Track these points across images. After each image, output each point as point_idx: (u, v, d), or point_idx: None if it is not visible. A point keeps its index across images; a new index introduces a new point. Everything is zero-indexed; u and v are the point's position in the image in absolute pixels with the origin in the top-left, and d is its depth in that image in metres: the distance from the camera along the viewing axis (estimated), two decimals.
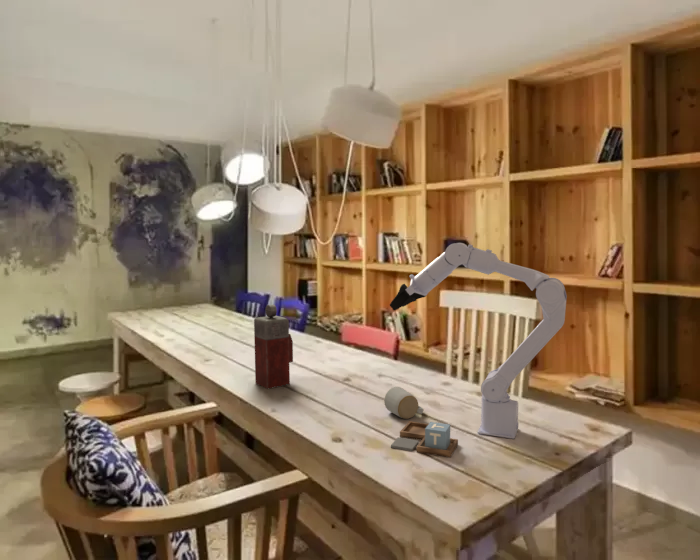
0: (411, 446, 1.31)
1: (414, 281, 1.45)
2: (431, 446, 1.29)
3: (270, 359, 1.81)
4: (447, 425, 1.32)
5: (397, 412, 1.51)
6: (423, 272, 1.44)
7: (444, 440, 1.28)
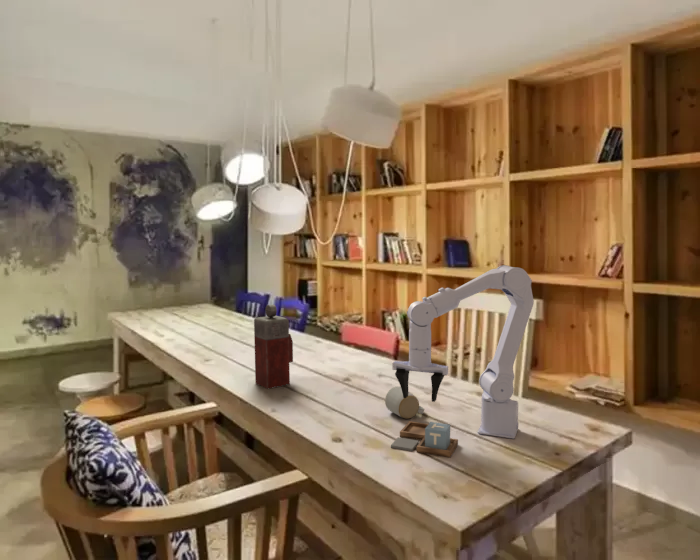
0: (411, 446, 1.31)
1: (427, 366, 1.37)
2: (431, 446, 1.29)
3: (270, 359, 1.81)
4: (447, 425, 1.32)
5: (398, 412, 1.51)
6: (425, 353, 1.36)
7: (444, 440, 1.28)
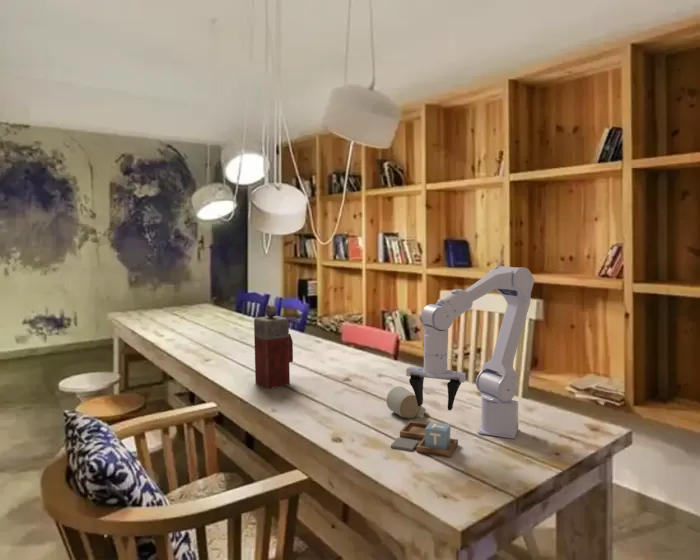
0: (411, 446, 1.31)
1: (443, 373, 1.30)
2: (431, 446, 1.29)
3: (270, 359, 1.81)
4: (447, 425, 1.32)
5: (399, 412, 1.51)
6: (441, 359, 1.29)
7: (444, 440, 1.28)
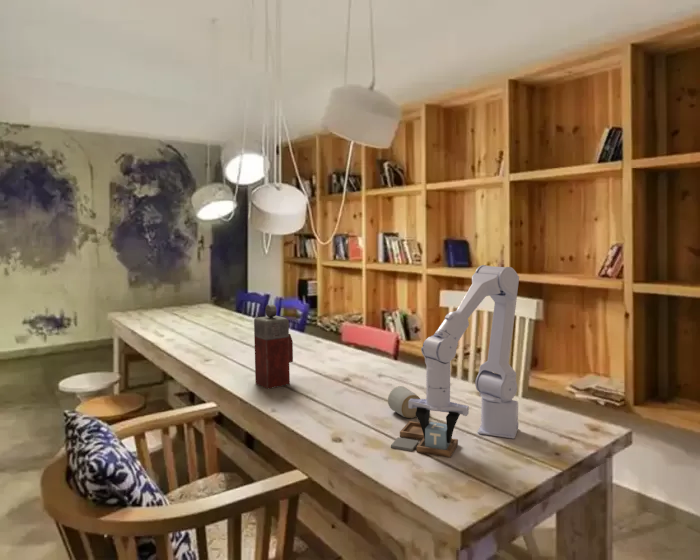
0: (411, 446, 1.31)
1: (446, 406, 1.28)
2: (431, 446, 1.29)
3: (270, 359, 1.81)
4: None
5: (401, 411, 1.51)
6: (444, 392, 1.28)
7: (444, 440, 1.28)
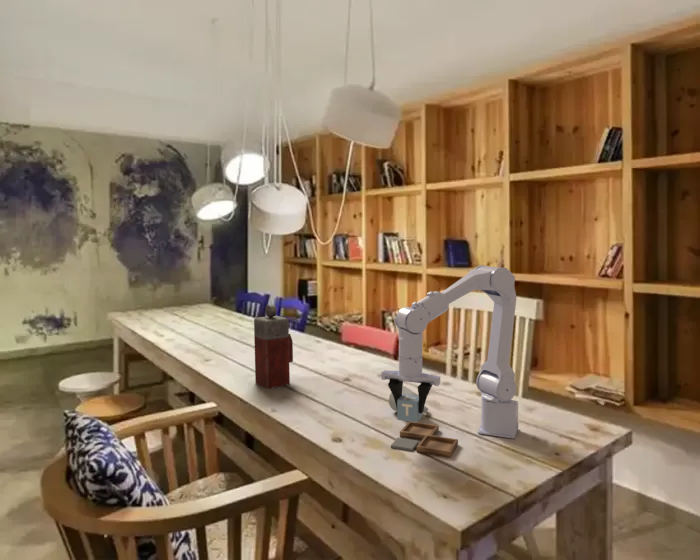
0: (411, 446, 1.31)
1: (418, 376, 1.29)
2: (403, 417, 1.30)
3: (270, 359, 1.81)
4: None
5: None
6: (416, 362, 1.28)
7: (416, 411, 1.29)
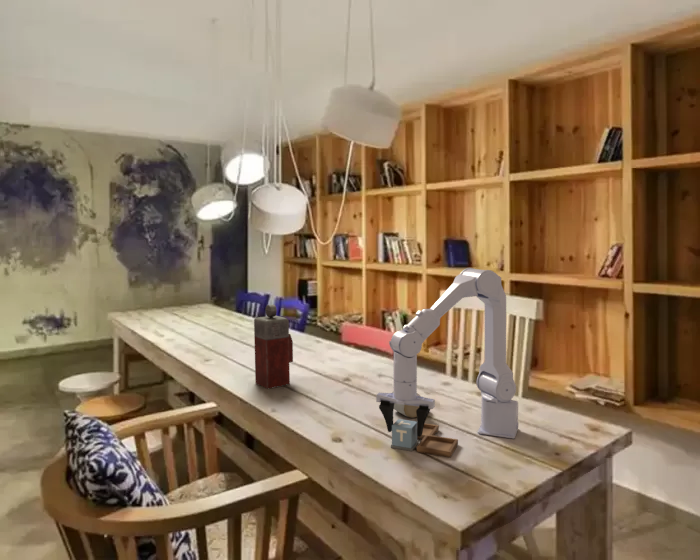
0: None
1: (412, 399, 1.30)
2: (398, 443, 1.31)
3: (270, 359, 1.81)
4: (414, 422, 1.34)
5: (403, 411, 1.51)
6: (410, 386, 1.29)
7: (410, 437, 1.30)
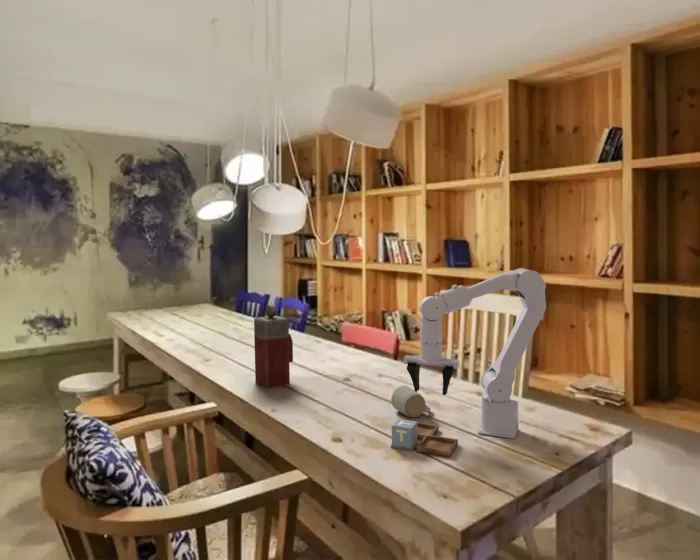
0: None
1: (438, 360, 1.39)
2: (398, 443, 1.31)
3: (270, 359, 1.81)
4: (414, 422, 1.34)
5: (404, 411, 1.52)
6: (436, 347, 1.39)
7: (410, 437, 1.30)
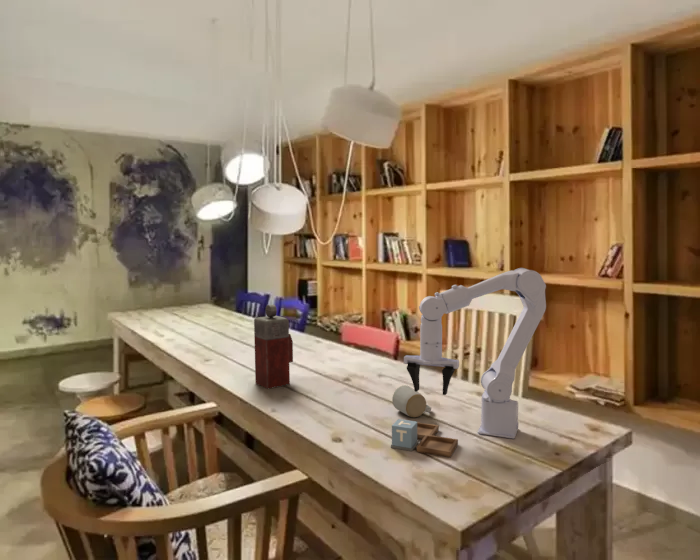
0: None
1: (438, 360, 1.39)
2: (398, 443, 1.31)
3: (270, 359, 1.81)
4: (414, 422, 1.34)
5: (405, 411, 1.52)
6: (436, 347, 1.39)
7: (410, 437, 1.30)
